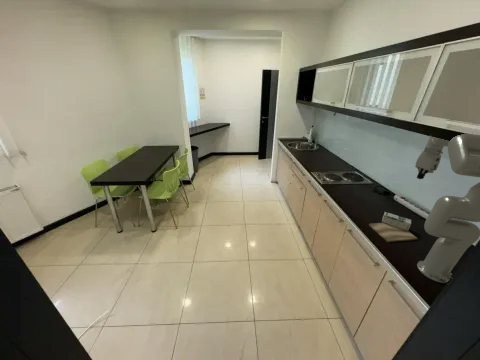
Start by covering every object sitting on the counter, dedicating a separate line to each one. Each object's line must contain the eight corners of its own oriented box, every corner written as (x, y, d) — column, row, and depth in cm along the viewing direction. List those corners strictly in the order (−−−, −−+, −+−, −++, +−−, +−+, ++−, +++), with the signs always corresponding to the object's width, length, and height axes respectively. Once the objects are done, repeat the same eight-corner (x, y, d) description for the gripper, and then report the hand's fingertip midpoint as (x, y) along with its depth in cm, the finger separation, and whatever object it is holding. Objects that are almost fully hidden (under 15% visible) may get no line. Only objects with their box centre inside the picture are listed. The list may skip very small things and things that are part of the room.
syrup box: (385, 211, 136) (411, 219, 128) (382, 218, 138) (408, 226, 130) (384, 215, 132) (411, 223, 124) (381, 222, 134) (408, 231, 126)
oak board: (416, 239, 121) (417, 238, 120) (387, 242, 119) (388, 240, 118) (395, 223, 135) (395, 221, 135) (368, 225, 133) (369, 223, 132)
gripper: (451, 154, 112) (436, 183, 120) (425, 147, 125) (414, 173, 133) (439, 155, 111) (425, 184, 119) (415, 147, 124) (404, 173, 132)
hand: (419, 178), depth 126 cm, fingers closed
